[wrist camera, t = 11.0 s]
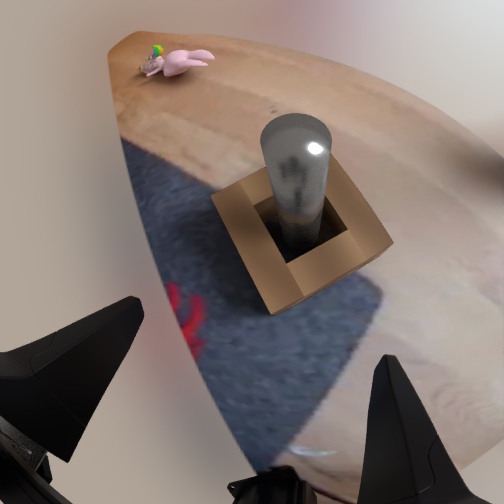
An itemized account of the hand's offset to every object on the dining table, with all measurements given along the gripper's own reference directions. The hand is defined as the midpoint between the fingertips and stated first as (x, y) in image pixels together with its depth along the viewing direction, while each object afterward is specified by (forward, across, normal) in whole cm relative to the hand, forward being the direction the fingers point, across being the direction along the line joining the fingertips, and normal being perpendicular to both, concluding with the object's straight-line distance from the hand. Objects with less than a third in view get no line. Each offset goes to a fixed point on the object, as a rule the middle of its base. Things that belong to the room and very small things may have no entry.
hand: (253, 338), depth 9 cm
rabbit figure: (+31, +21, -12) cm, 39 cm away
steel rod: (+15, 0, +4) cm, 15 cm away
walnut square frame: (+15, 0, +4) cm, 15 cm away
